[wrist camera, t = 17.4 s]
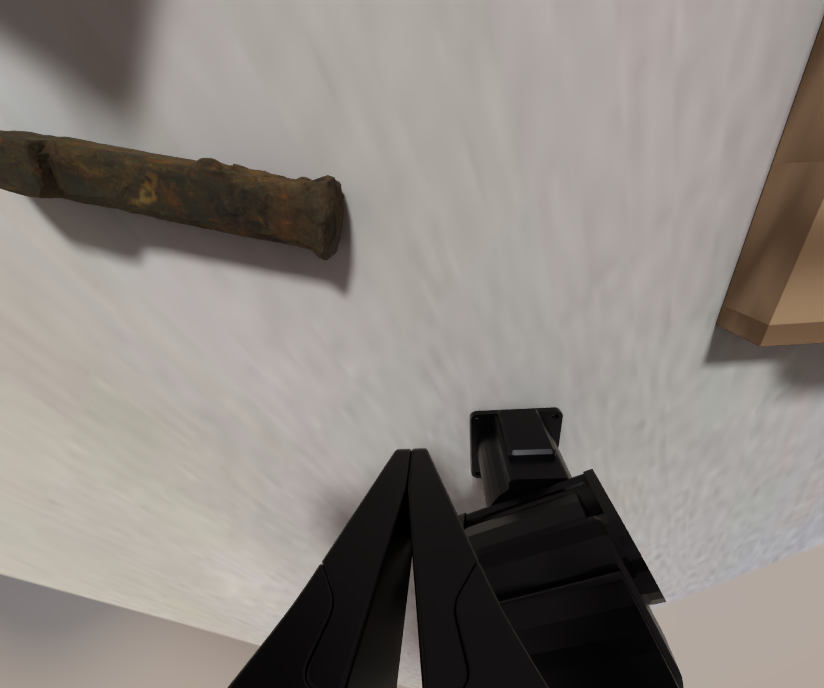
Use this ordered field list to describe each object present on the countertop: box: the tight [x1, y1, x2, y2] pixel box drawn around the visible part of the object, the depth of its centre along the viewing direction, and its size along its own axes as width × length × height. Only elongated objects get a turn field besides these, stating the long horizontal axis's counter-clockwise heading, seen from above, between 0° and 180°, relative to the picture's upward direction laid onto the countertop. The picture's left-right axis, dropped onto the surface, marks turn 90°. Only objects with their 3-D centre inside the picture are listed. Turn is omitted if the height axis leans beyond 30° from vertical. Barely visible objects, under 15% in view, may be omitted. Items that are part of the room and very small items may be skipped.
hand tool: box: [0, 131, 343, 260], centre depth 16 cm, size 19×4×5 cm, turn 77°
